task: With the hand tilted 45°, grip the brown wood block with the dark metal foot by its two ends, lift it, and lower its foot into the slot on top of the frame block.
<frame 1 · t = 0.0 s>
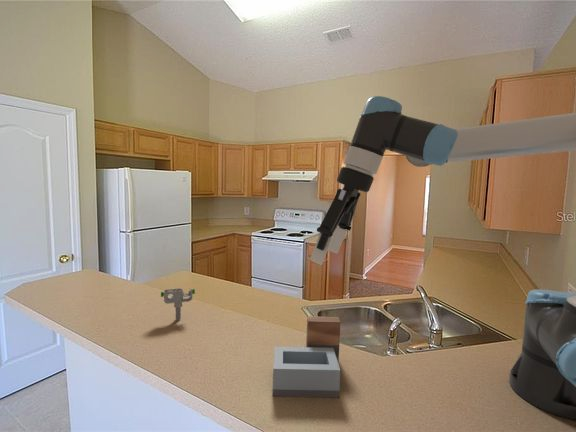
hand: (324, 256, 71), 28 cm above the counter, tool tilted 20°, fingers open, 13 cm apart
frame block: (304, 383, 68), on the counter
brown wood block: (321, 360, 77), on the counter
mechanical component: (178, 320, 99), on the counter
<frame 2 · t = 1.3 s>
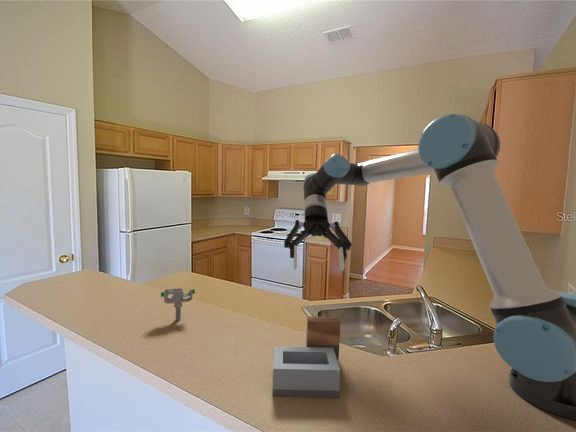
hand: (318, 268, 86), 21 cm above the counter, tool tilted 45°, fingers open, 13 cm apart
nothing on the counter moved.
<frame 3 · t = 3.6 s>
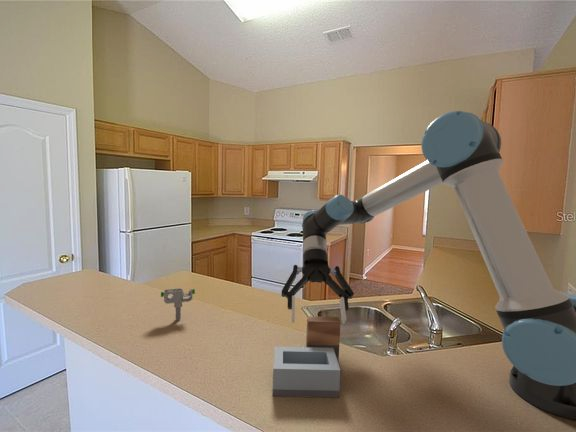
hand: (318, 321, 80), 9 cm above the counter, tool tilted 45°, fingers open, 13 cm apart
nothing on the counter moved.
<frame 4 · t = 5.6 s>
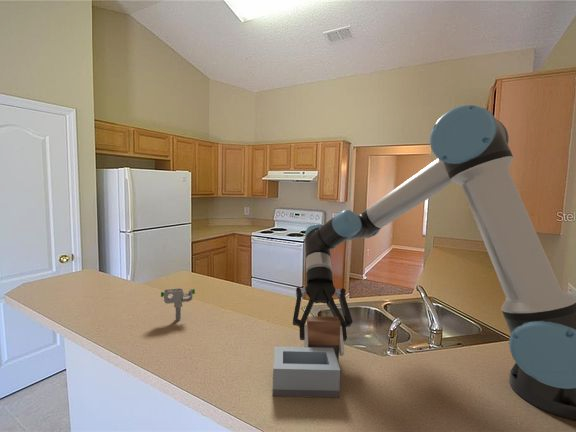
hand: (324, 353, 74), 4 cm above the counter, tool tilted 45°, fingers closed on brown wood block, 8 cm apart
brown wood block: (321, 360, 77), on the counter, touching gripper
everything else where it was.
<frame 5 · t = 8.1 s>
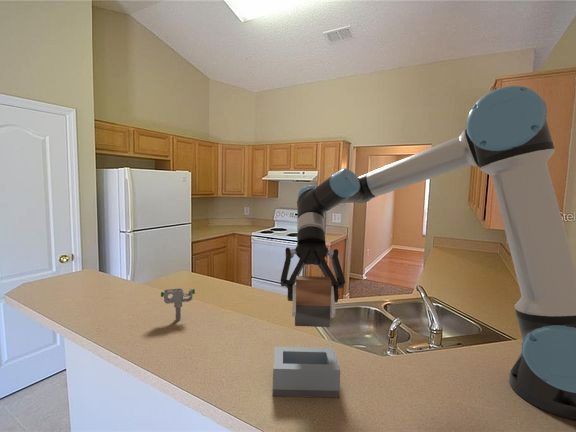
hand: (313, 314, 68), 16 cm above the counter, tool tilted 45°, fingers closed on brown wood block, 8 cm apart
brown wood block: (311, 323, 71), point 12 cm above the counter, touching gripper
everything else where it was.
when the fingers open (9 cm above the counter, at t = 10.5 s): brown wood block drops 3 cm, resting on frame block.
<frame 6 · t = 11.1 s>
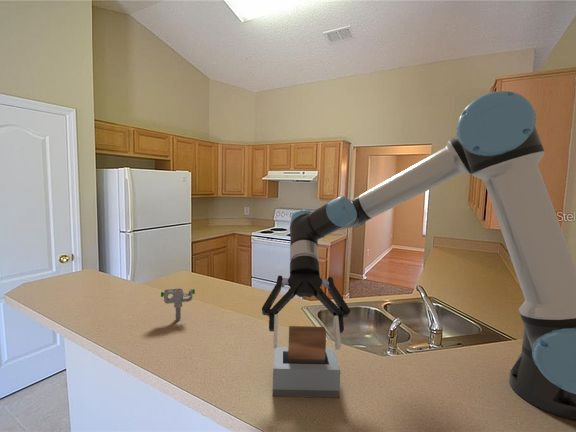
hand: (306, 347, 65), 10 cm above the counter, tool tilted 45°, fingers open, 13 cm apart
brown wood block: (305, 376, 68), point 1 cm above the counter, touching frame block
everything else where it was.
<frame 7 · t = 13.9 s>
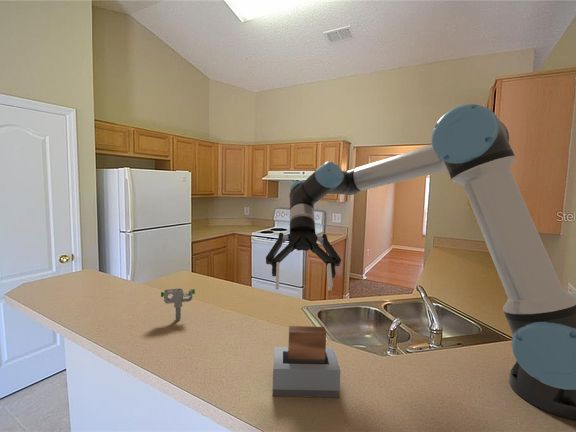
hand: (303, 287, 77), 19 cm above the counter, tool tilted 45°, fingers open, 13 cm apart
nothing on the counter moved.
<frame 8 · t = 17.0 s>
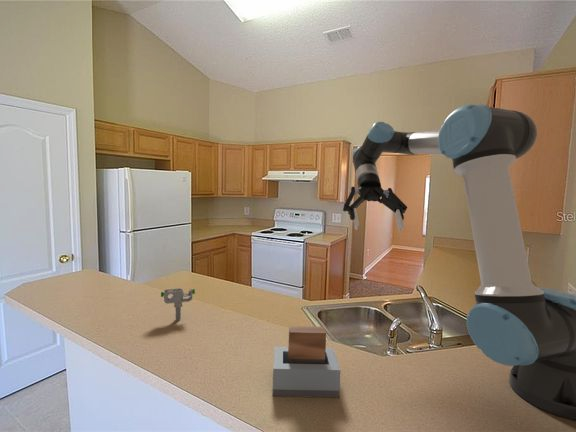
hand: (379, 227, 92), 33 cm above the counter, tool tilted 45°, fingers open, 13 cm apart
nothing on the counter moved.
at the end: brown wood block 0.2 cm off-centre on the frame block, point 1.5 cm above the frame block's base; brown wood block tilted 0°; the gripper is holding nothing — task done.
